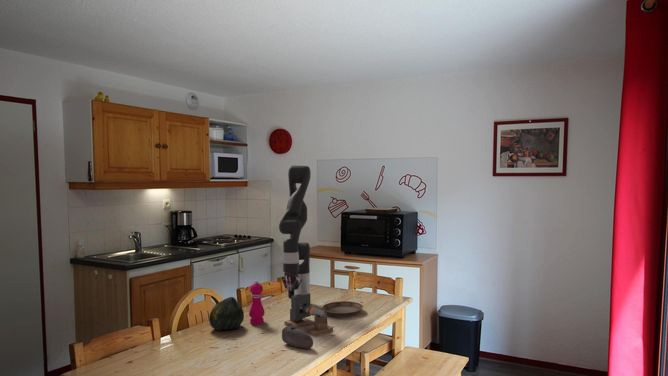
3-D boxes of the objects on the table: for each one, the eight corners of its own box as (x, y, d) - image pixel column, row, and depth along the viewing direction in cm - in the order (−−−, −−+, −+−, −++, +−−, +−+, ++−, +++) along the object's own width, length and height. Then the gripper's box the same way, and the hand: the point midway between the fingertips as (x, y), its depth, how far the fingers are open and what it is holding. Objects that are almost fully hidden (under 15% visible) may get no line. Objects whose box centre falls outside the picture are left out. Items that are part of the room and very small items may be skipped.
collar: (291, 319, 200) (291, 296, 200) (306, 314, 207) (306, 292, 207) (295, 320, 198) (295, 297, 198) (310, 316, 205) (310, 293, 204)
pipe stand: (284, 324, 203) (284, 309, 203) (301, 319, 210) (300, 305, 210) (316, 336, 188) (316, 319, 188) (333, 330, 195) (333, 314, 194)
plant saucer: (318, 318, 213) (317, 311, 213) (326, 306, 233) (326, 300, 233) (360, 320, 209) (360, 313, 209) (365, 308, 230) (365, 301, 230)
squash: (201, 315, 201) (212, 294, 194) (229, 309, 212) (241, 289, 205) (212, 341, 193) (225, 321, 187) (241, 334, 204) (254, 314, 197)
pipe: (291, 310, 205) (291, 302, 205) (296, 308, 207) (296, 301, 207) (320, 319, 191) (320, 311, 190) (326, 317, 193) (325, 309, 193)
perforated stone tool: (317, 348, 174) (316, 331, 174) (308, 353, 170) (307, 335, 170) (289, 340, 183) (289, 324, 183) (280, 344, 179) (280, 327, 179)
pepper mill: (261, 325, 203) (260, 282, 203) (246, 324, 204) (246, 281, 204) (266, 320, 210) (266, 278, 210) (252, 319, 211) (252, 278, 211)
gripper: (276, 260, 209) (276, 297, 209) (293, 264, 200) (294, 302, 200) (288, 258, 215) (288, 294, 215) (306, 262, 205) (306, 299, 205)
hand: (291, 298), depth 207 cm, fingers closed
